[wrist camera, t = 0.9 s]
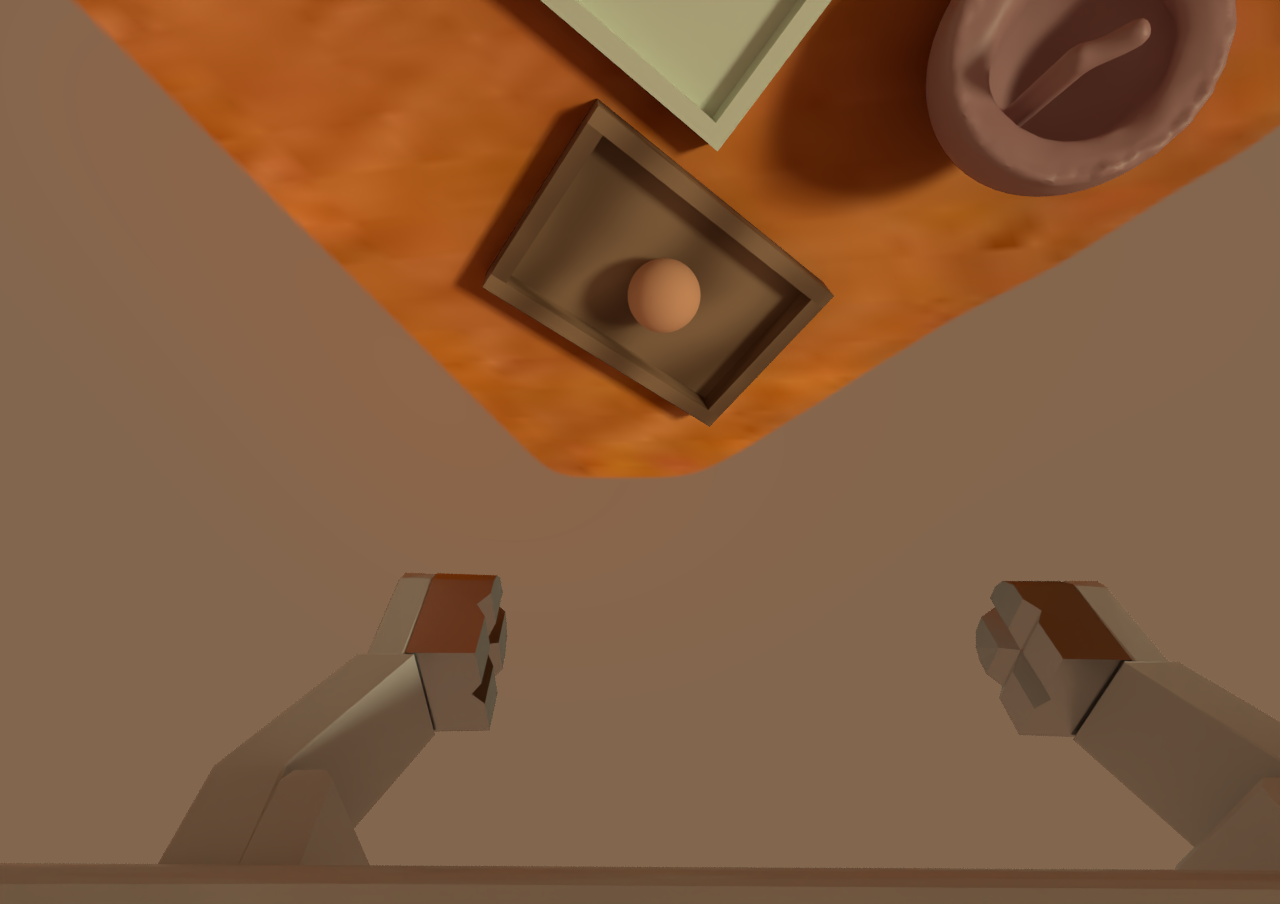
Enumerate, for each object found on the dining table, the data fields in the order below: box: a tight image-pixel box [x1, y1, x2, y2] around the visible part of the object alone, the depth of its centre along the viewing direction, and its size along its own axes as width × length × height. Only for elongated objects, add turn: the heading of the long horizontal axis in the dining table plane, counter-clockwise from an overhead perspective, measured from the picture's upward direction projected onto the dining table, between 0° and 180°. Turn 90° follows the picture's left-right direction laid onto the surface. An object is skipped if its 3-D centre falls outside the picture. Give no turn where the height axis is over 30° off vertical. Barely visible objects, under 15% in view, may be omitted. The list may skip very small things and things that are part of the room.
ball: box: [628, 258, 701, 333], centre depth 39 cm, size 4×4×4 cm
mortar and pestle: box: [926, 0, 1237, 197], centre depth 31 cm, size 12×12×11 cm
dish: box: [483, 99, 834, 427], centre depth 41 cm, size 18×12×2 cm, turn 53°
